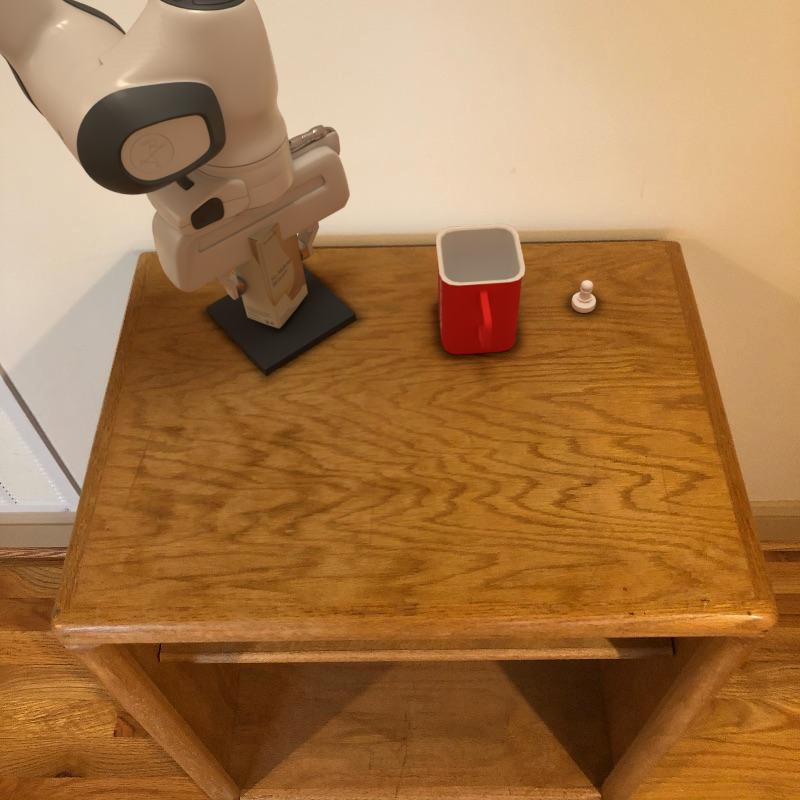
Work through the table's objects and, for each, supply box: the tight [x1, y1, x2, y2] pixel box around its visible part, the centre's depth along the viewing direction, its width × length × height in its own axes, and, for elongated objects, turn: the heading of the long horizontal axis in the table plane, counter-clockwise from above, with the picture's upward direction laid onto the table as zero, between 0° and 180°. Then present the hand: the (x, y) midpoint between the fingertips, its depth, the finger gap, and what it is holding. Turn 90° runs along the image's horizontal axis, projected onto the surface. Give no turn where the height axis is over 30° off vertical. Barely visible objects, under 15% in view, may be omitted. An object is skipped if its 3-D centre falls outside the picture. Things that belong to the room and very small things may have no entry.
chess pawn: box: [571, 279, 597, 314], centre depth 85 cm, size 3×3×4 cm
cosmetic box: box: [234, 223, 308, 328], centre depth 81 cm, size 6×4×12 cm
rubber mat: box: [205, 265, 357, 376], centre depth 87 cm, size 12×12×1 cm
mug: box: [435, 223, 526, 355], centre depth 80 cm, size 12×8×11 cm
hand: (270, 274), depth 82 cm, fingers closed on cosmetic box, 7 cm apart
